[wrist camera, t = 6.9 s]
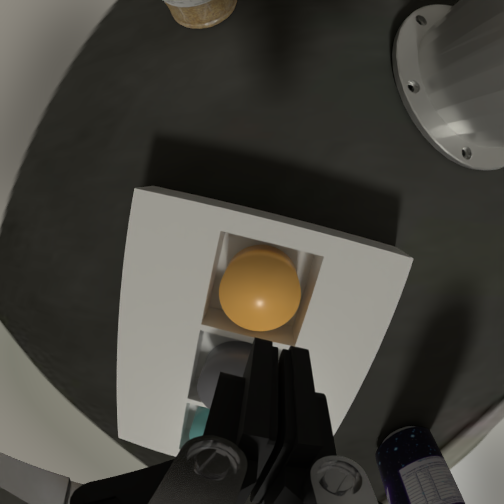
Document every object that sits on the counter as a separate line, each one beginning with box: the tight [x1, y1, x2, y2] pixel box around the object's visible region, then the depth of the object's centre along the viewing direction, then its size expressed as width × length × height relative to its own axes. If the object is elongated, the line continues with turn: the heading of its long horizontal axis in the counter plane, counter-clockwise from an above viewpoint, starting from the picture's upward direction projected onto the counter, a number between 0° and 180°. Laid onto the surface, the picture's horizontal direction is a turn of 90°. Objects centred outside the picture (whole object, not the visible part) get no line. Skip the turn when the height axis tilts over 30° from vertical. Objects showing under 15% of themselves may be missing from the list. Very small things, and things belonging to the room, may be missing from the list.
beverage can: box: [376, 426, 465, 504], centre depth 18 cm, size 6×6×12 cm
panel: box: [117, 186, 414, 457], centre depth 20 cm, size 20×16×3 cm
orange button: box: [219, 245, 301, 331], centre depth 18 cm, size 4×4×2 cm
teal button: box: [189, 406, 210, 439], centre depth 21 cm, size 4×4×2 cm
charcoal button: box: [197, 341, 252, 409], centre depth 19 cm, size 4×4×2 cm
